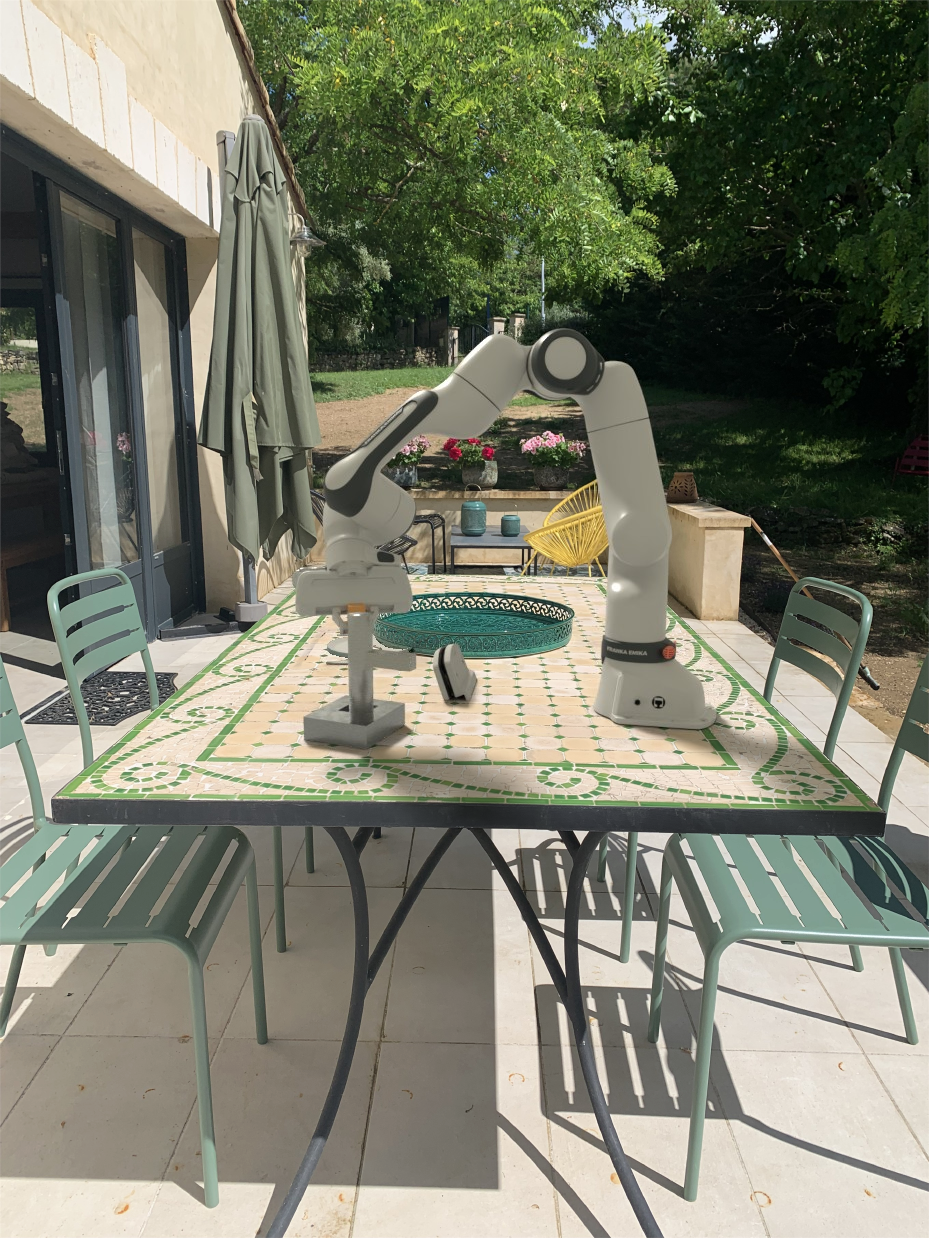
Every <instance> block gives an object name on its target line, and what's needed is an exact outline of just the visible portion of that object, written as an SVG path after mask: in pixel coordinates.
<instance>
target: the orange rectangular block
mask: <svg viewBox="0 0 929 1238" xmlns="http://www.w3.org/2000/svg"><path fill="white" fill-rule="evenodd" d="M347 612H348V614H349V613H353V612H366V606H365V604H364V603H353V604H347Z"/></svg>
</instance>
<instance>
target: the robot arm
mask: <svg viewBox="0 0 929 1238" xmlns="http://www.w3.org/2000/svg"><path fill="white" fill-rule="evenodd" d="M521 392H523V393H526V394H528V395H530V396H533V397H535V398H537V399H540V400H543V401H546V402H559V401H563V400H566V399H568V398H571V399H572V400H574V401H576V403H577V404H578V405H579V407H580V409H581V412H582V415H583V416H584V422H585V430H586V433H587V437H588V443H589V447H590V452H591V457H592V462H593V466H594V470H595V471H594V473H595V476H596V482H597V489H598V492H599V494H598V495H599V499H600V505H601V511H602V516H603V520H604V525H605V532H606V536H607V541H608V558H607V559H608V560H607V563H608V564H607V565H608V566H607V577H606V578H607V579H606V580H607V581H606V595H605V597H606V598H605V599H606V600H605V619H604V620H605V622H604V634H603V635H602V640H601V646H600V650H601V651H600V659H601V665H602V667H601V672H600V673H601V674H600V680H599V686H598V689H597V693H596V697H595V699H594V700H595V701H594V702H593V705H592V709H593V710H594V711H595V712H596V713H597V714H599V715H601V716H603V717H605V718H609V719H610V720H611V721H612V722H614V723H616V724H618V725H619V724H620V725H632V726H644V727H645V726H646V727H662V728H674V729H690V730H702V729H706V728H708V727H710V726H712V725H713V724H714V723H715V722H716V720H717V716H718V715H717V714H718V713H717V709H716V707H715V706H713V705H712V704H711V703H707V702H706V697H705V689H704V686H703V683H702V681H701V679H700V678H699V677H698V676H696V675H695V674H694V673H693V672H691V670H689V669H688V668H687V667H685V666H684V665H683V664H682V663H681V662H680V661H678V659H676V657H677V655H676V654H677V641H676V640H674V641H672V640H671V639H670V638H668V637H667V636H666V632H667V617H668V615H667V614H668V612H667V611H668V595H669V592H668V591H669V560H670V557H669V556H670V555H669V554H670V547H671V545H672V540H673V529H672V524H671V520H670V519H671V518H670V515H669V511H668V505H667V501H666V496H665V491H664V485H663V482H662V476H661V471H660V465H659V462H658V461H659V460H658V457H657V452H656V451H657V450H656V446H655V441H654V437H653V431H652V425H651V422H650V421H651V420H650V418H649V412H648V408H647V403H646V401H645V397H644V394H643V390H642V387H641V385H640V383H639V380H638V377H637V375H636V373H635V371H634V369H633V368H632V366H630V365H629V364H628V363H625V362H623V361H617V360H609V361H605V359H604V358H603V356H602V355H601V354H600V353H599V352H598V350H597V349H596V348H595V347H594V346H593V345H592V344H591V342H590V341H589V340H588V339H587V338H586V336H584V335H583V334H582V333H581V332H579V331H577V330H575V329H571V328H563V327H561V328H555V329H552V330H550V331H548V332H546V333H545V334H543V335H542V336H541V337H540V338H539V339H538V340H536V342H535V343H534V344H533V345H529V346H528V345H527V346H526V345H523V344H520V343H519V342H518V341H517V340H516V339H514V338H513V337H512V336H509V335H506V334H502V333H494V334H490V335H489V336H487V337H485V338H484V339H483V340H482V341H481V342H479V344H477V345H476V346H475V347H474V348H473V349H472V350H471V351H470V352H469V353H468V354H467V355H466V356H465V357H464V358H463V359H462V360H461V362H460V363H458V365H457V366H456V367H455V369H453V371H452V373H451V374H450V375H448V377H447V378H446V379H445V380H444V381H442V383H440V384H439V385H436V387H434V388H432V389H429V390H425V389H423V390H419V391H418V392H416V393H414V394H412V395H411V396H410V397H409V398H407V399H406V400H405V401H403V403H402V404H400V405H399V406H398V407H397V408H396V409H395V410H394V411H393V412H392V413H391V414H389V415H388V417H386V418H385V419H384V420H383V421H382V422H381V423H380V424H379V425H378V426H377V427H376V428H375V429H374V430H373V431H372V432H371V433H369V435H368V436H367V437H366V438H364V439H363V441H362V442H360V443H359V444H358V445H357V446H356V447H354V448H353V449H352V450H351V451H349V452H348V453H347V454H346V455H344V456H342V457H341V458H339V459H338V460H337V461H335V462H334V463H333V464H332V465H331V466H330V467H329V469H328V470H327V472H326V473H325V476H324V479H323V496H324V499H325V503H324V506H323V512H322V529H323V530H322V534H323V539H324V541H325V544H326V545H325V546H326V547H325V550H324V557H325V566H316V567H306V566H304V567H300V568H299V569H297V570H295V571H294V572H293V573H292V575H291V579H292V580H291V583H292V587H293V588H294V589H295V599H294V601H295V606H294V607H295V612H296V613H297V615H299V616H300V617H316V616H318V617H319V616H321V617H324V616H331V618H332V619H331V620H332V621H333V623H334V624H335V625H336V626H337V627H338V628H339V629H338V630H340V635H348V624H347V621H345V620H344V619H342V617H341V616H347V614H348V612H347V604H353V603H364V604H365V606H366V612H368V613H371V614H372V633H373V634H374V631H375V624H376V622H377V621H378V618H379V614H381V615H382V614H383V615H384V614H386V615H387V614H406V613H408V612H410V610H411V609H412V606H413V601H414V596H413V591H412V586H411V583H410V578H409V577H408V574H407V573H406V572H407V571H405V570H404V569H403V568H402V558H401V556H400V555H399V554H397V553H393V552H388V551H385V550H381V549H378V548H376V547H381V546H384V545H386V544H390V543H391V542H394V541H396V540H398V539H400V538H402V537H403V536H405V535H406V534H407V533H409V532H410V530H411V529H412V527H413V526H414V523H415V521H416V516H417V503H416V500H415V498H414V497H413V496H412V495H411V494H409V492H408V491H406V490H405V489H404V488H402V487H400V485H398V484H397V483H395V482H394V481H392V480H391V479H389V478H388V477H387V476H385V474H383V473H382V472H381V471H382V469H383V468H384V466H386V465H387V464H388V463H389V462H390V461H391V460H392V459H393V458H395V456H396V455H397V454H398V453H399V452H400V451H402V449H404V447H406V446H407V444H409V442H411V441H412V440H413V439H415V438H418V437H419V436H422V435H428V434H431V435H438V436H442V437H447V438H449V439H455V440H471V439H474V438H477V437H480V436H482V434H484V433H485V432H486V431H488V430H489V429H490V427H491V426H492V425H493V424H494V423H495V422H496V420H497V419H498V418H499V416H500V415H501V413H503V411H505V408H506V407H508V404H510V402H511V401H512V400H513V399H514V397H516V396H517V395H518V394H520V393H521Z"/></svg>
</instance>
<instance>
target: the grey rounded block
mask: <svg viewBox="0 0 929 1238" xmlns="http://www.w3.org/2000/svg"><path fill="white" fill-rule="evenodd" d="M432 668H433V669H432V670H433V673H434V676H435V678H436V681H437V685H438V689H439V691H440V694H441V697H442V700H443V699H445V700H444V701H449V700H450V698H452V697H455V698H458V697H461V696H463V695H464V697H465V701H467V702H469V701H470V699H471V697H472V694H473V691H474V688H475V685H476V682H477V680H478V678H477V675H476V672H475V671H474V670H473V669H471V668H469V667H468V665H467V663H466V661H465V657H464V654H463V652H462V649H461V647H460V645H459V644H458V643H452V644H451V643H449V644H448V645H446V646H441V647H439V648H437V650H435V652H434V654H433V659H432Z"/></svg>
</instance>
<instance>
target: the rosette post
mask: <svg viewBox="0 0 929 1238" xmlns="http://www.w3.org/2000/svg"><path fill="white" fill-rule="evenodd" d="M346 617H347V618H346V620H347V624H348V660H347V661H348V664H347V665H348V669H347V671H348V672H347V673H348V695H347V694H345V695H343V696H341V697H338V698H337V699H335V700H333V701H332V702H329V703H328V704H326V705H323V706H322V707H320V708H317V709H316V710H314V711H312V712H310V713H308V714H306V715H305V716H304V715H303V718H302V719H303V720H302V721H303V740H304V741H306V740H307V741H312V742H317V743H323V744H330V745H335V746H342V747H348V748H356V749H361V750H362V749H363V750H368V749H370V748H371V747H373V746H375V745H376V744H377V743H376V742H378V741H379V742H381V741H382V740H383V738H384V737H385V738H387V737H388V736H390V735H391V734H393V733H394V732H396V731H397V729H398V728H399V729H401V728H402V727H404V726H405V725H406V703H405V702H399V701H392V700H384V699H378V698H377V699H376V698H374V668H375V669H376V668H377V669H384V670H391V671H392V670H393V671H401V672H402V671H403V672H409V673H410V672H412V671H413V670H415V669H417V653H413V652H408V653H406V652H397V651H388V650H379V649H373V633H372V614H371V613H368V612H353V613H349V614H347V615H346ZM404 724H405V725H404ZM403 725H404V726H403ZM401 726H402V727H401ZM400 727H401V728H400ZM399 729H398V730H399ZM395 730H396V731H395ZM389 734H390V735H389ZM386 736H387V737H386ZM385 738H384V739H385ZM381 739H382V740H381ZM380 740H381V741H380ZM379 742H378V743H379ZM375 743H376V744H375Z"/></svg>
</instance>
